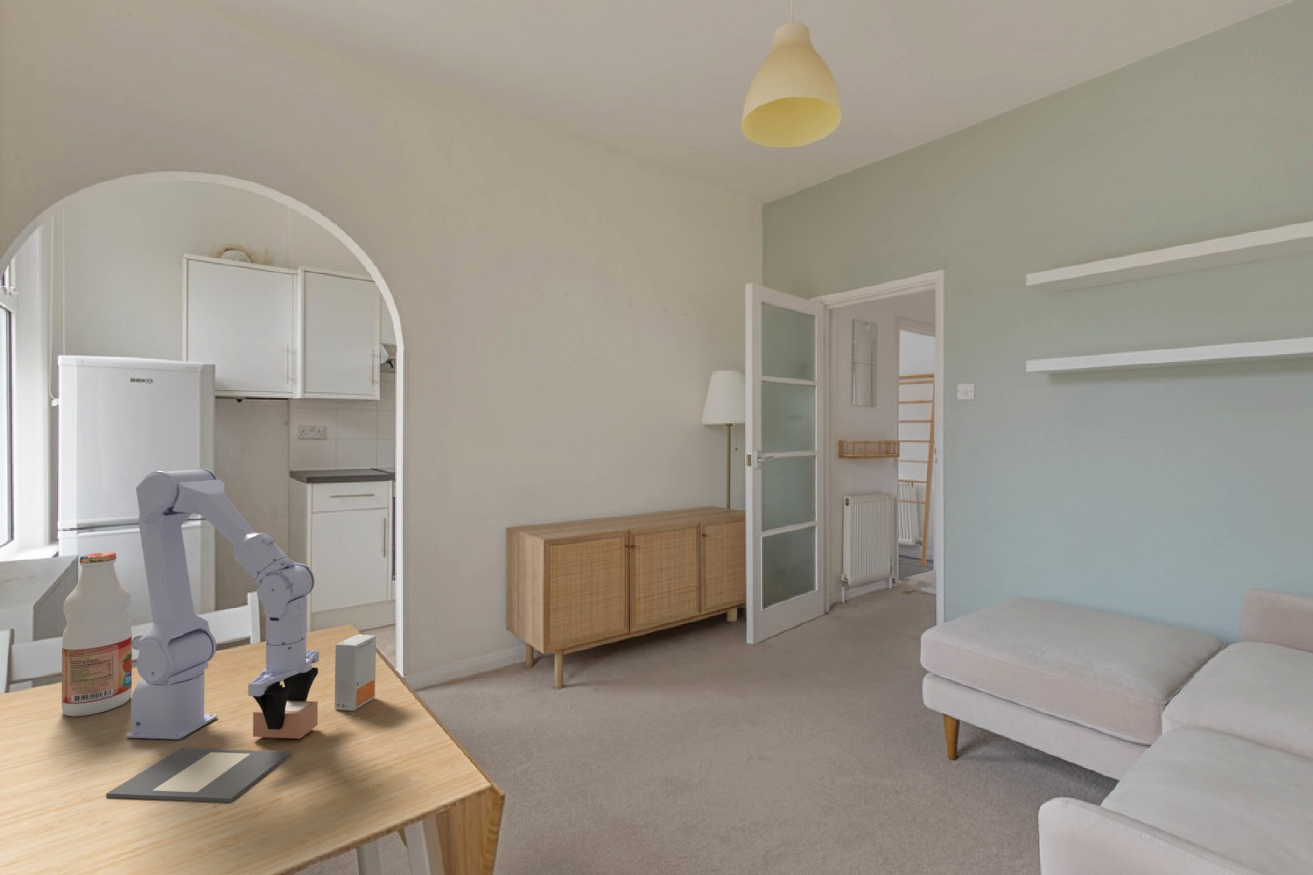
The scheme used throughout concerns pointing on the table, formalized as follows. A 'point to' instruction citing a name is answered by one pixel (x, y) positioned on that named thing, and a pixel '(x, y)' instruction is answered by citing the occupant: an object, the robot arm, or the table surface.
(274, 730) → the pink box with label
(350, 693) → the skincare box
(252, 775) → the charcoal mat
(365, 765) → the table surface
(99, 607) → the fruit juice
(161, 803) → the table surface
